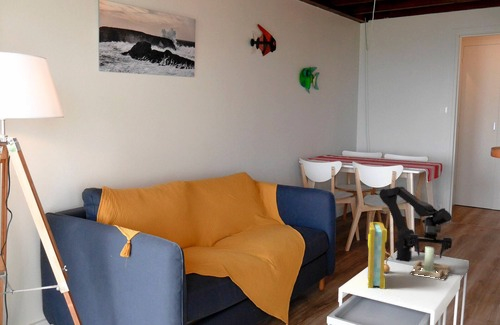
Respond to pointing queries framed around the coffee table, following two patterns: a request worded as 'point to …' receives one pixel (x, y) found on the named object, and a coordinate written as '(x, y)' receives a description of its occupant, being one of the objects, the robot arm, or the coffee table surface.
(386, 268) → the figurine
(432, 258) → the sage peg
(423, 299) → the coffee table surface
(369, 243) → the book
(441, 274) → the keyhole board
